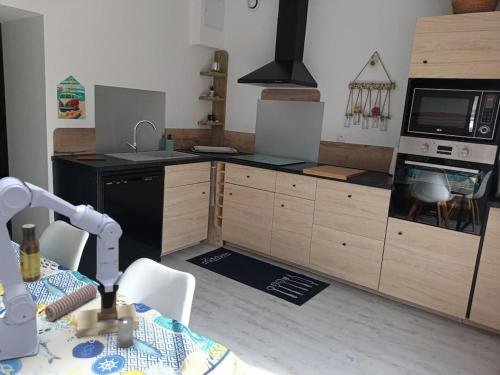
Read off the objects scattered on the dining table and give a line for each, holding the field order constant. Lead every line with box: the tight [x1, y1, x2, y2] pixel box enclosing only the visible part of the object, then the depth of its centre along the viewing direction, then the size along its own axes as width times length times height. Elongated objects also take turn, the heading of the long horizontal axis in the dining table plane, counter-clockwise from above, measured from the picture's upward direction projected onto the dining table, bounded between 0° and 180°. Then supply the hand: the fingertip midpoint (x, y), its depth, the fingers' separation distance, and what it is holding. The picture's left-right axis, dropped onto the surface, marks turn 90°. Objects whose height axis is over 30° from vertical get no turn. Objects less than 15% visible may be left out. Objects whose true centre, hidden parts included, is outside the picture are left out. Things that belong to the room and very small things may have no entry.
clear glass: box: [116, 316, 134, 349], centre depth 102 cm, size 4×4×7 cm
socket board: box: [76, 303, 139, 339], centre depth 110 cm, size 16×10×2 cm, turn 113°
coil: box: [44, 283, 98, 322], centre depth 118 cm, size 5×5×18 cm
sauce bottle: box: [18, 223, 41, 282], centre depth 132 cm, size 6×6×20 cm
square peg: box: [100, 283, 117, 315], centre depth 109 cm, size 4×4×7 cm
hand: (107, 303), depth 109 cm, fingers closed on square peg, 4 cm apart
